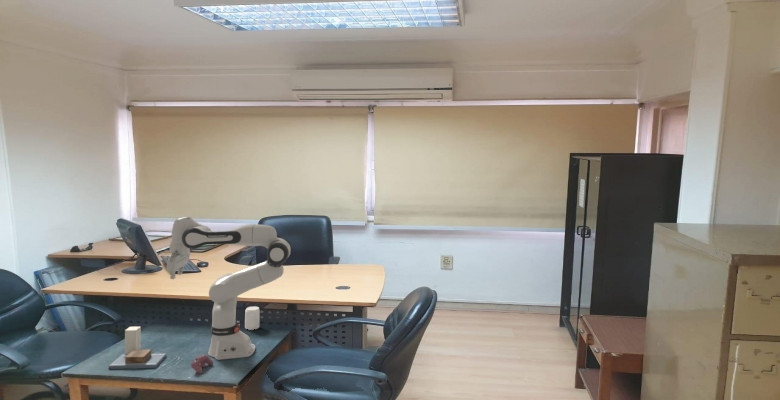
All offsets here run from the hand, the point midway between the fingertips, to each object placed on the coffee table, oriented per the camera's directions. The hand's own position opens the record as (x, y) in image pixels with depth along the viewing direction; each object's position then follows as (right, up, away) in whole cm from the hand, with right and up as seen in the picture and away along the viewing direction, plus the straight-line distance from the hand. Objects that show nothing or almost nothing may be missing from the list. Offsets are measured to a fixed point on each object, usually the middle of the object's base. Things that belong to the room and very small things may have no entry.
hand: (176, 276), depth 202 cm
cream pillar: (-23, -38, +1) cm, 44 cm away
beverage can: (+25, -38, +38) cm, 59 cm away
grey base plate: (-13, -39, -9) cm, 42 cm away
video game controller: (+19, -41, -13) cm, 47 cm away
